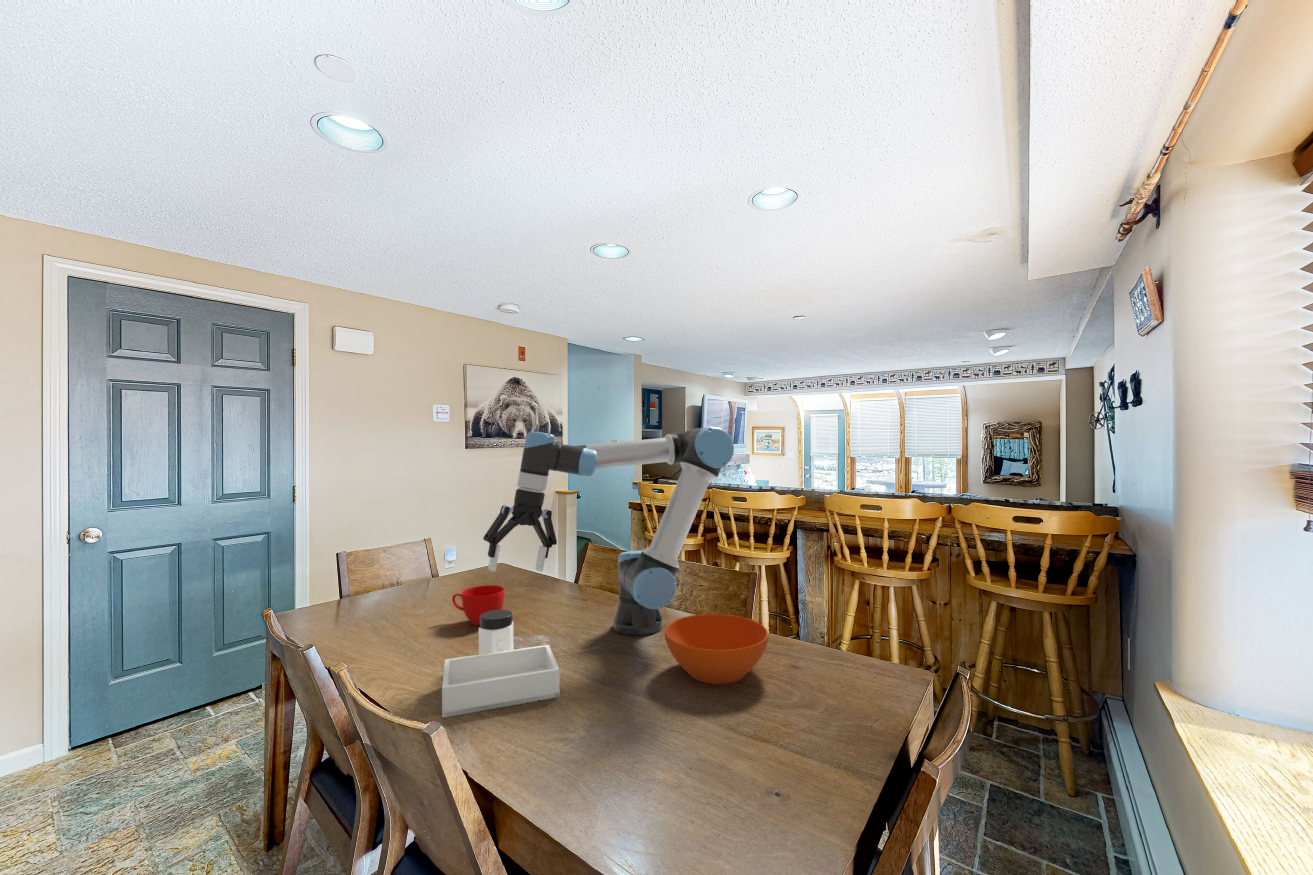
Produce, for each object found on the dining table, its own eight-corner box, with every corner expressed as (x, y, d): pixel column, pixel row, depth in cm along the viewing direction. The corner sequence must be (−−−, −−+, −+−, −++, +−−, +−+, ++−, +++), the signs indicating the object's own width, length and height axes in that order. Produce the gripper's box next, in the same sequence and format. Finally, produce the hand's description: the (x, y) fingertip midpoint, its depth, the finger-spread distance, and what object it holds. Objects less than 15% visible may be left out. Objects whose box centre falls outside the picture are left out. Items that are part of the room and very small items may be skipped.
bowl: (778, 659, 132) (778, 620, 133) (754, 704, 110) (753, 657, 110) (687, 645, 143) (686, 609, 143) (647, 683, 120) (647, 640, 120)
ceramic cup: (463, 614, 172) (462, 584, 173) (511, 616, 170) (511, 585, 170) (441, 628, 160) (441, 595, 160) (493, 629, 157) (493, 596, 157)
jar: (483, 670, 128) (482, 622, 129) (474, 659, 135) (474, 613, 135) (518, 661, 133) (518, 615, 134) (508, 651, 140) (508, 607, 140)
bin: (549, 668, 129) (548, 644, 129) (559, 696, 114) (559, 669, 114) (445, 685, 121) (445, 659, 121) (442, 717, 106) (442, 688, 106)
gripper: (563, 492, 148) (549, 567, 146) (480, 482, 131) (464, 566, 130) (577, 496, 142) (564, 573, 141) (493, 486, 126) (476, 574, 124)
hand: (516, 570), depth 135 cm, fingers open, 13 cm apart
